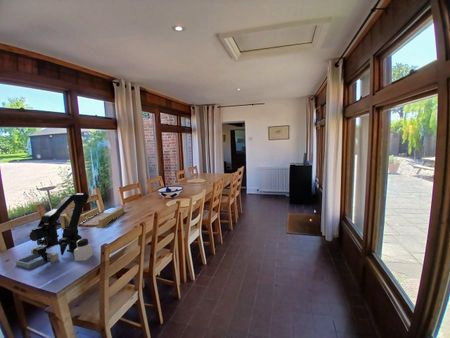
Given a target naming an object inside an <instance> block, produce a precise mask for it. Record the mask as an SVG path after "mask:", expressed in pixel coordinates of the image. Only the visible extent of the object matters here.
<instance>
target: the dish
mask: <svg viewBox="0 0 450 338" xmlns="http://www.w3.org/2000/svg"><path fill="white" fill-rule="evenodd" d="M46 252H47V251H46ZM53 253H54V252H53ZM53 253H52V252H47V262H50V258H49V255H50V254H53ZM38 257H41V256H40V255H37V254H30V255H27V256H24V257H22V258H19V259H17V260H15V266H16V267H20V268H24V269H27V270H32V269H34V268H35V267H38V266H40V265H43V264H44V263H45V264H46V262H45V261H44V260H43V258H42V257H41V258H39V259H36V258H38Z"/></svg>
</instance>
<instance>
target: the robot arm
mask: <svg viewBox="0 0 450 338" xmlns="http://www.w3.org/2000/svg"><path fill="white" fill-rule="evenodd" d="M88 201H89V195H88V194H87V193H85V192H84V193H83V192H78V193H76V194H71V193H69V194H66V195H65V197H64V198H63V199H62V200H61V201H60V202H58V204H57V205H56V206H55V207H54V208H53V209H51V210H49V211H47V212H46V213H44V214H43V215H42V216H41V219H40V221H39V223H38V224H37V227H36V228H32V229H31V232H30V233H29V239H30V240H31V241H32V242H36V245H37V248H35V247H34V248H35V249H33V254H37V255H40V256H39V257H41V259H42V258H43V260H44V261H45V264H46V263H47V262H48V261H47V250H48V249H51V248H53V247H56V246H58V245H59V247H60V248H59V250H60V256H64V253H65V251H67V252H70V253H74V250H75V249H76V248H77V241H78V240H80V239H83V237H82V236H81V235H79V228H78V227H79V226H78V222H79V219H80V215H82V213H83V207H84V206H85V205H86V204H87V203H88ZM72 202H73V203H74V207H73V210H72V213H71V216H70V217H71V218H70V219H71V220H70V223H69V226H66V228H65V229H62V234H61V236H62V237H61V238H59V236H60V235H59V234H58V228H57V226H59V225H60V226H61V223H60V222H58V221H59V220H60V215H62V214H63V213H64V212H65V210H66V208H68V207H69V206H70V205H71V203H72ZM77 226H78V227H77ZM67 247H68V249H67Z"/></svg>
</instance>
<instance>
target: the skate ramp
mask: <svg viewBox="0 0 450 338" xmlns="http://www.w3.org/2000/svg"><path fill="white" fill-rule="evenodd" d="M68 212H69V211H67V212H66V211H63V213H61V214H60V218H59V220H60V228H61V230H64V229H66V228H67V227H68V226H69V223H70V220H71V217H72V216H70V214H69V213H68ZM97 213H99V214H101V213H100V211H99V207H97V206H94V207H93V208H91V209H90V210H86V211H83V213H81V215H80V219H79V222H78V226H77V228H78V227H80V226H79V224H80V223H81V222H83V221H85V220H88V219H86V218H88V217H91V216H93V215H95V214H97ZM123 213H124V214H125V207H124V205H122V206H120V207H117V208H116V209H114V210H112V211H111V212H109V213H108V214H106V215H104V216H102V217H99V219H98V224H97V226H96V229H102V228H104V227H105V226H107V225H108V224H110V223H111V222H112V221H111V220H112V219H114V218H115V219H117V218H118V217H119V216H122V215H123ZM116 217H117V218H116ZM115 219H114V220H115ZM110 221H111V222H110ZM109 222H110V223H109Z"/></svg>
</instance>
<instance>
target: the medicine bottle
mask: <svg viewBox="0 0 450 338" xmlns="http://www.w3.org/2000/svg"><path fill="white" fill-rule="evenodd" d="M73 255H74V256H73V257H74V261H75V262H79V261H81V262H82V261H88V260H89V259H90V258H91V257H92V256H93V255H94V254H93V245H92V244H89V240H88V238H82V239H80V240H78V241H77V248H76V249H75V250H74V252H73Z"/></svg>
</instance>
